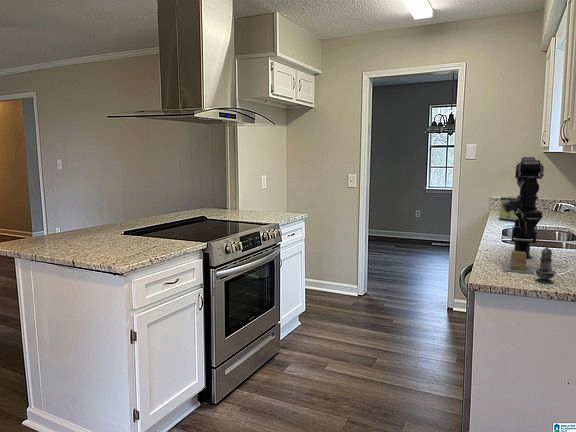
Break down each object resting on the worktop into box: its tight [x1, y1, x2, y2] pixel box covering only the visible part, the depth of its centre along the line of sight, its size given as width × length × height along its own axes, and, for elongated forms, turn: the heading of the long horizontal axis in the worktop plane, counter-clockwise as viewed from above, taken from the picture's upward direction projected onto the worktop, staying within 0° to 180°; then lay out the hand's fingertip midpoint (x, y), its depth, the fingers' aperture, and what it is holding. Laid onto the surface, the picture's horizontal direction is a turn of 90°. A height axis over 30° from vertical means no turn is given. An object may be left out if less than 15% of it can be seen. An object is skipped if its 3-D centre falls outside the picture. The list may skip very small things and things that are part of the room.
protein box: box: [498, 196, 518, 223], centre depth 292 cm, size 10×16×16 cm
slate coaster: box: [501, 264, 536, 275], centre depth 163 cm, size 10×10×1 cm
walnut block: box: [510, 250, 527, 271], centre depth 162 cm, size 4×4×6 cm
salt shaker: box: [534, 245, 556, 285], centre depth 146 cm, size 6×6×12 cm
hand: (525, 233), depth 171 cm, fingers open, 9 cm apart
